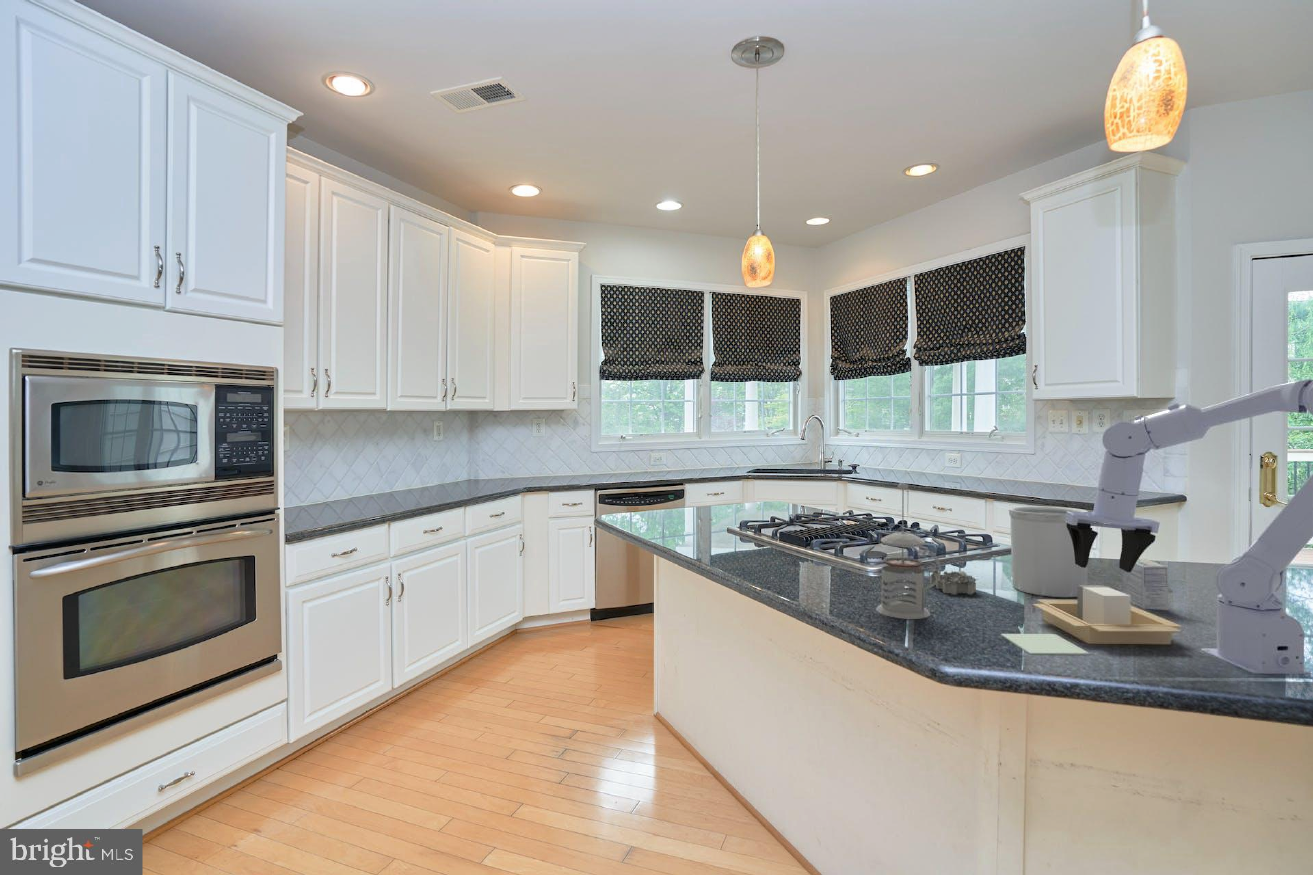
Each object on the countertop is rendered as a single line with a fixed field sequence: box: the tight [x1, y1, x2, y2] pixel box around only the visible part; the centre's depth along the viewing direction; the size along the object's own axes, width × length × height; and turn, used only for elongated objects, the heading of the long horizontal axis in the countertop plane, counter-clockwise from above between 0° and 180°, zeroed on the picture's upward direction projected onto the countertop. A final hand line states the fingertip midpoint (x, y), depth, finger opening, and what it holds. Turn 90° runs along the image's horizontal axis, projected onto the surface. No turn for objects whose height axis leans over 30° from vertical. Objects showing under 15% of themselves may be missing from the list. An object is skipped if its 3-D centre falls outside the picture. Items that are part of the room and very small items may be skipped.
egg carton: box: [928, 565, 978, 595], centre depth 140 cm, size 11×8×4 cm
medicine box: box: [1121, 558, 1169, 611], centre depth 126 cm, size 8×4×9 cm, turn 168°
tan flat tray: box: [1032, 598, 1184, 645], centre depth 110 cm, size 18×17×3 cm
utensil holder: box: [1008, 505, 1089, 598], centre depth 138 cm, size 15×15×18 cm
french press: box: [875, 482, 942, 620], centre depth 123 cm, size 10×12×25 cm
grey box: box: [1076, 584, 1132, 624], centre depth 110 cm, size 7×4×7 cm, turn 178°
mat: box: [1000, 633, 1090, 656], centre depth 103 cm, size 9×9×1 cm
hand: (1102, 567), depth 111 cm, fingers open, 7 cm apart
